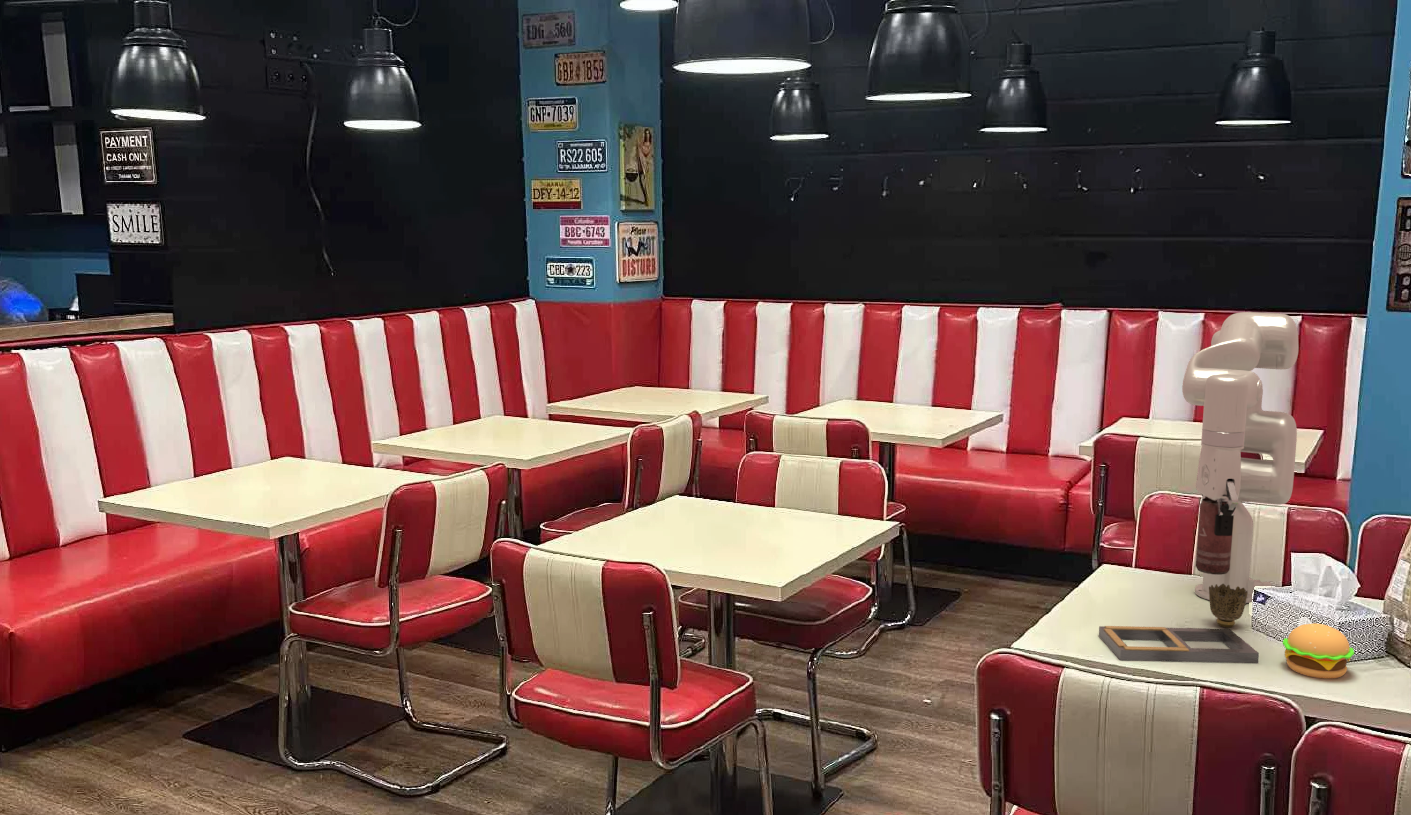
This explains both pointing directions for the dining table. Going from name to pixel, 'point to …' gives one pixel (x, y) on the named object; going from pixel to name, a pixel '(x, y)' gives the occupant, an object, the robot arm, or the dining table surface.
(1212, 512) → the can
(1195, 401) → the robot arm
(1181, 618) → the dining table surface
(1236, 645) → the grey tray
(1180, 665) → the dining table surface
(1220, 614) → the cup
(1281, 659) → the dining table surface
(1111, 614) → the dining table surface
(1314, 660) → the hamburger
